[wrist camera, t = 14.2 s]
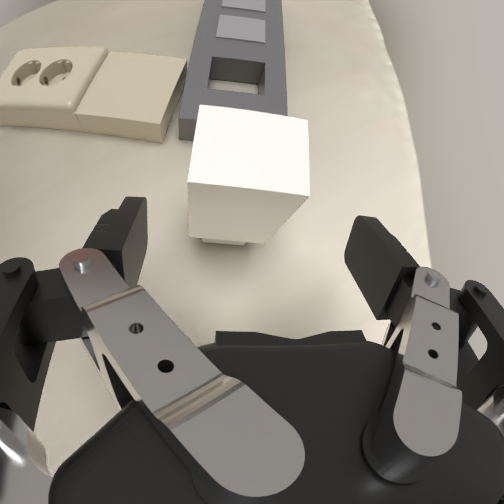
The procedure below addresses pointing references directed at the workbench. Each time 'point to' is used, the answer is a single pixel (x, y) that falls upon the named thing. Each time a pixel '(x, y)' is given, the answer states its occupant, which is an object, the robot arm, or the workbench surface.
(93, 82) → the electrical outlet
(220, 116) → the block
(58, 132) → the workbench surface
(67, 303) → the robot arm
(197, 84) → the power strip
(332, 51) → the workbench surface
